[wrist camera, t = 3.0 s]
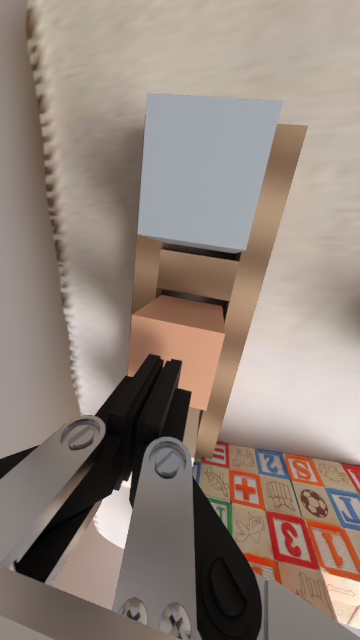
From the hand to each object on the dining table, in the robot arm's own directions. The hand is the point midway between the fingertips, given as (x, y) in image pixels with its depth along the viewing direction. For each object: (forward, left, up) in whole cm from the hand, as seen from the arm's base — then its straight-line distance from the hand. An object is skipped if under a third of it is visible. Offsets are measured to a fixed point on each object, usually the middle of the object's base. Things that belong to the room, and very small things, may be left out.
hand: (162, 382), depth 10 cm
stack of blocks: (+17, +12, -11) cm, 23 cm away
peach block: (0, 0, -7) cm, 7 cm away
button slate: (-9, 0, -7) cm, 12 cm away
